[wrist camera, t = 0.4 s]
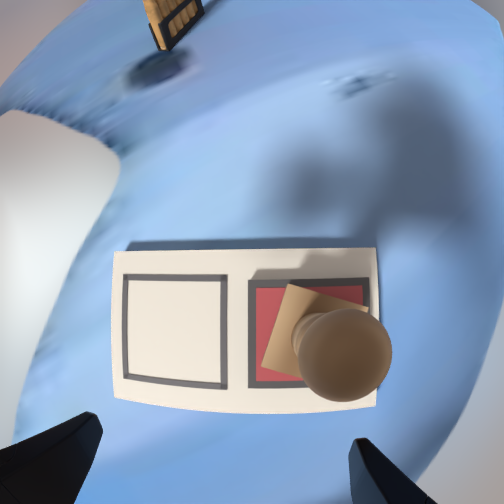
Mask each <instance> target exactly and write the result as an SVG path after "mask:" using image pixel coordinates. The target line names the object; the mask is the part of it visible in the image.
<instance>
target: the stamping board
mask: <svg viewBox="0 0 504 504" xmlns="http://www.w3.org/2000/svg"><path fill="white" fill-rule="evenodd" d="M358 277H369V284H370V315H372V316H373V317H375V318H376V319H377V320H378V321H379V297H378V274H377V259H376V248H300V249H232V250H170V251H114V263H113V278H112V302H111V349H112V372H113V387H114V397H115V398H120V399H125V400H130V401H135V402H140V403H146V404H152V405H159V406H165V407H173V408H181V409H189V410H199V411H210V412H225V413H247V414H291V413H313V412H328V411H339V410H349V409H357V408H365V407H372V406H375V404H376V392H377V388H376V389H375V390H374V391H373V392H371V393H370V394H369V395H367V396H365V397H363V398H361V399H358V400H355V401H350V402H334V401H330V400H326V399H324V398H322V397H320V396H318V395H317V394H315V393H314V392H313V391H312V390H311V389H310V388H281V389H254V388H248V280H271V279H324V278H358Z"/></svg>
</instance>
